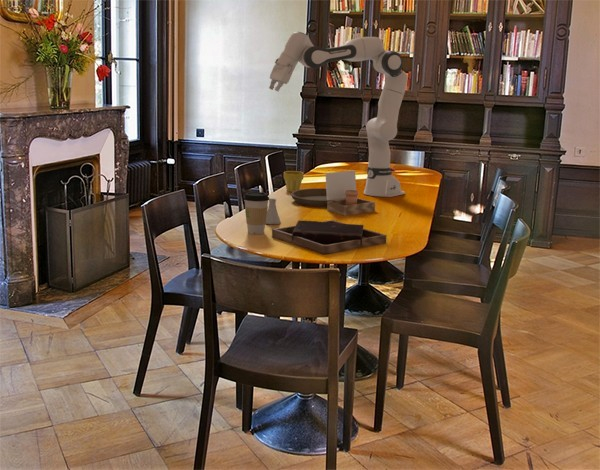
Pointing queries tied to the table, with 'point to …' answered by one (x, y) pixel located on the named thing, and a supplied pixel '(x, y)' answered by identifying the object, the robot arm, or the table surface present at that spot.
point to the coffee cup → (256, 211)
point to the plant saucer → (312, 197)
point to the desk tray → (368, 240)
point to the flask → (272, 213)
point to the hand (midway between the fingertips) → (273, 90)
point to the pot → (351, 197)
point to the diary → (328, 232)
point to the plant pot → (293, 180)
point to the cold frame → (350, 207)
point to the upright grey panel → (339, 184)
